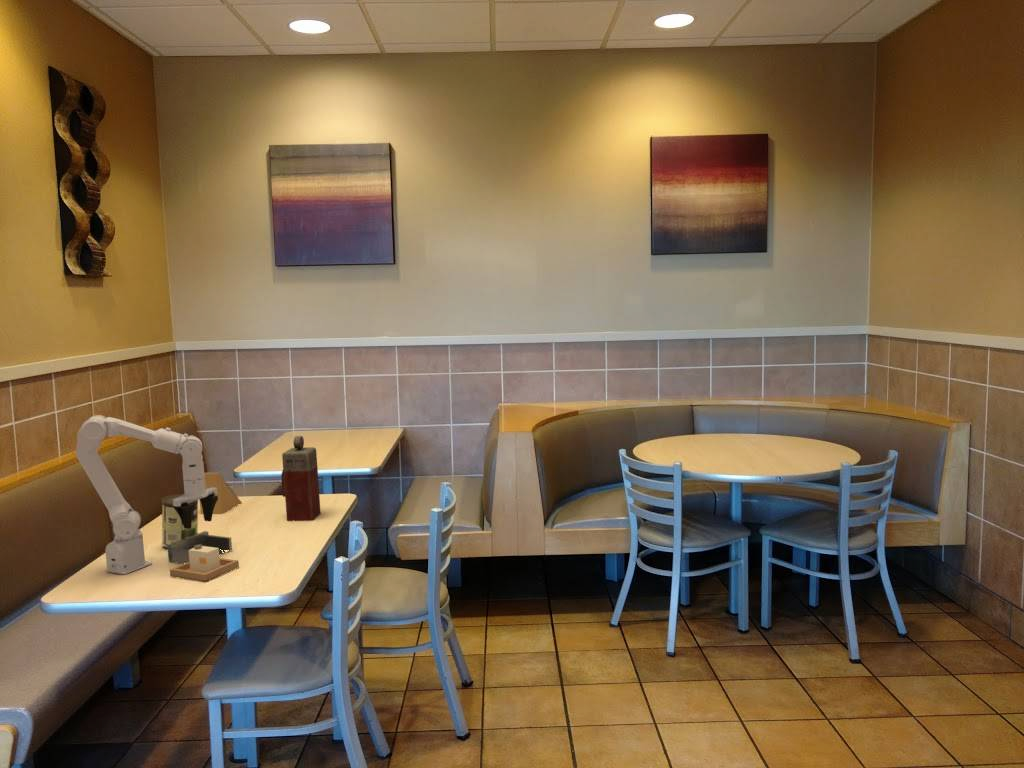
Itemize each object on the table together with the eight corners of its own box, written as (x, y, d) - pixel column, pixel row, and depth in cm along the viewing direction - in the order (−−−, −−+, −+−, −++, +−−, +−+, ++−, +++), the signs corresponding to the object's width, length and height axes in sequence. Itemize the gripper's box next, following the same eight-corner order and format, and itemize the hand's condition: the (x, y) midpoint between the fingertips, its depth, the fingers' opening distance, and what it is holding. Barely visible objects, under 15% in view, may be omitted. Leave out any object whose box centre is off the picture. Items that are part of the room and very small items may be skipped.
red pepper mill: (289, 513, 276) (283, 434, 273) (320, 513, 275) (315, 433, 272) (279, 521, 267) (273, 439, 264) (312, 520, 267) (306, 438, 263)
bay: (195, 565, 225) (194, 548, 224) (168, 561, 229) (167, 544, 229) (232, 550, 237) (230, 534, 237) (206, 547, 242) (204, 531, 241)
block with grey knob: (209, 574, 216) (207, 549, 215) (190, 571, 219) (188, 547, 218) (220, 569, 219) (218, 545, 219) (201, 566, 222) (199, 542, 222)
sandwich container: (243, 503, 295) (240, 463, 293) (223, 514, 280) (219, 472, 278) (221, 503, 296) (218, 463, 294) (200, 514, 281) (196, 473, 279)
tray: (205, 582, 211) (205, 574, 211) (170, 576, 216) (169, 569, 216) (238, 567, 222) (238, 560, 222) (204, 562, 227) (203, 555, 227)
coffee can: (197, 535, 252) (197, 492, 250) (198, 547, 243) (198, 503, 240) (161, 537, 248) (161, 494, 246) (161, 550, 239) (161, 505, 236)
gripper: (184, 485, 221) (188, 532, 223) (223, 473, 234) (227, 518, 236) (166, 483, 224) (170, 530, 226) (205, 472, 237) (209, 516, 239)
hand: (198, 524), depth 231 cm, fingers open, 7 cm apart
